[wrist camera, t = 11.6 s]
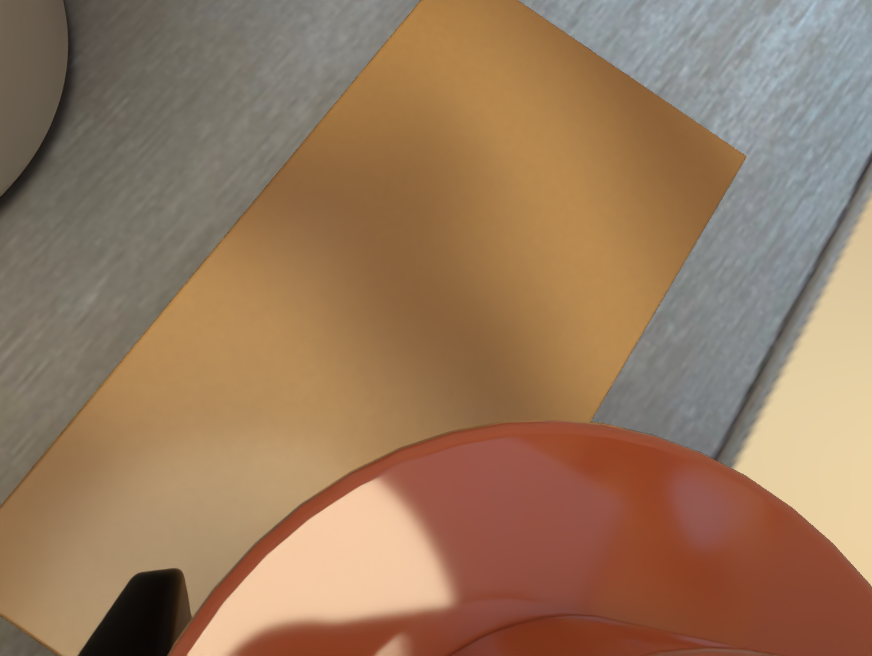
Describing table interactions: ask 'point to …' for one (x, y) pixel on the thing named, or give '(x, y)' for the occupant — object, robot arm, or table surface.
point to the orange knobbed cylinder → (538, 558)
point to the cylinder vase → (29, 79)
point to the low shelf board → (374, 306)
